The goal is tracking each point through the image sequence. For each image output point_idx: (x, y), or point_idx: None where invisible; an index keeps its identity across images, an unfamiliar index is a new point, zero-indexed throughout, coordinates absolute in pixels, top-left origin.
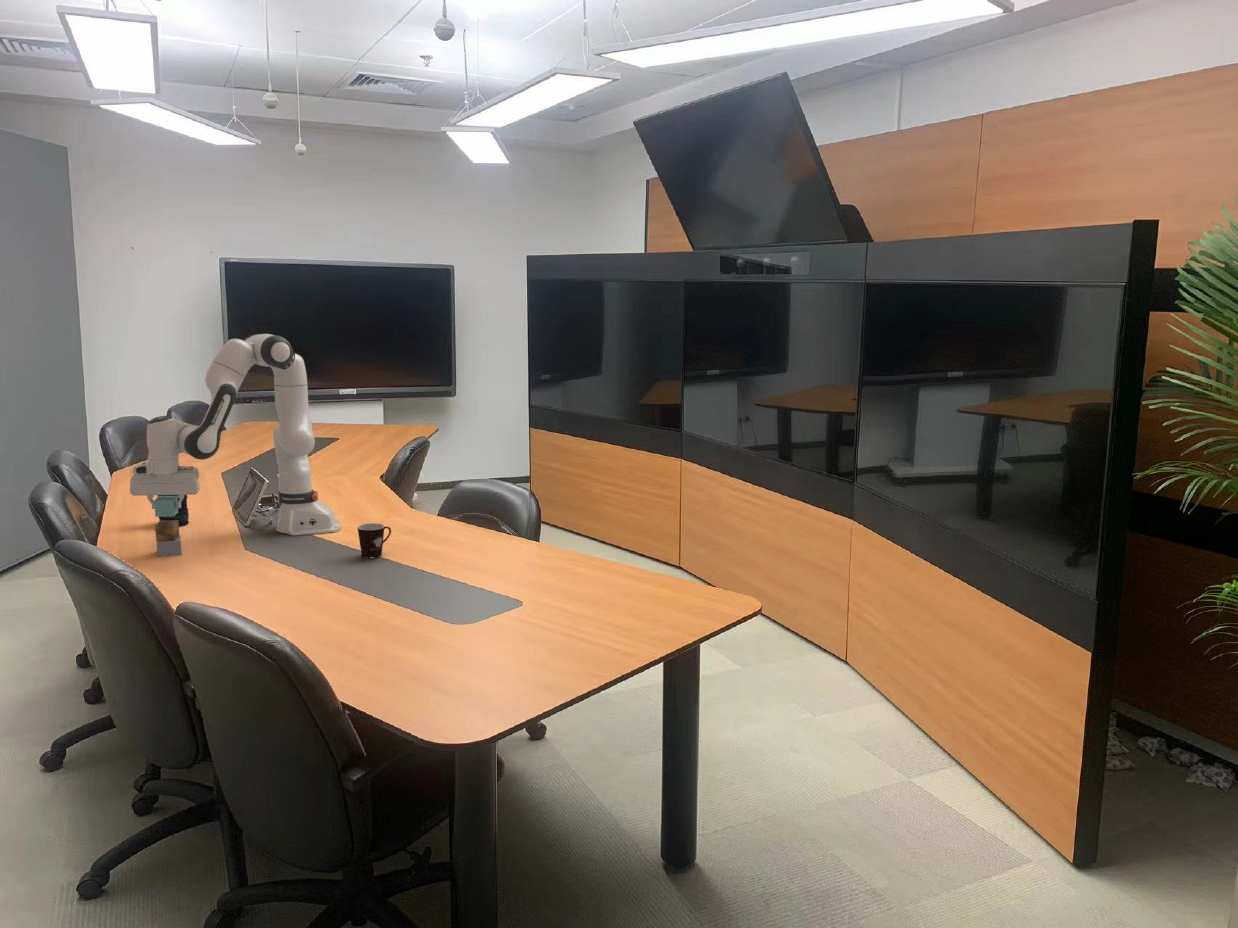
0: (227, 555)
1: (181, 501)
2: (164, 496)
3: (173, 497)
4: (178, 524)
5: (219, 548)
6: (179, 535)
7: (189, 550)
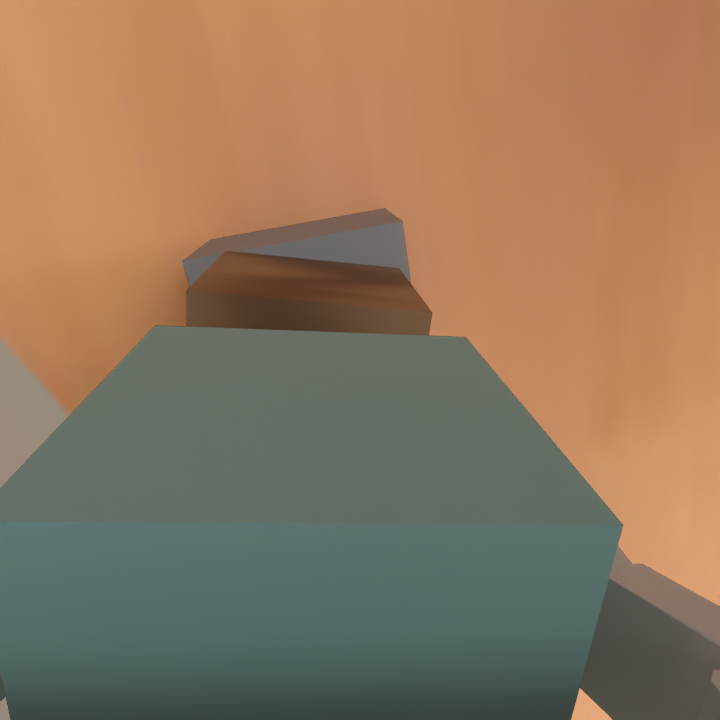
0: (701, 433)
1: (652, 570)
2: (197, 563)
3: (517, 698)
4: (420, 298)
5: (667, 247)
6: (396, 233)
7: (452, 263)
